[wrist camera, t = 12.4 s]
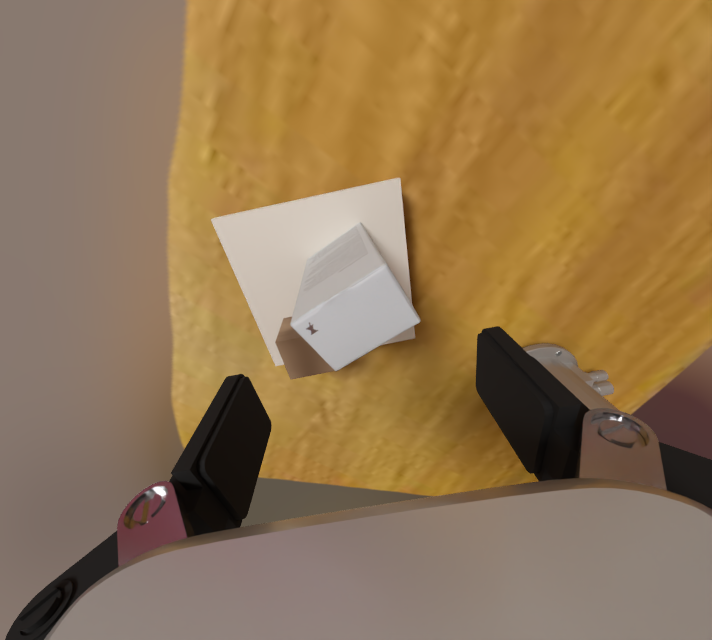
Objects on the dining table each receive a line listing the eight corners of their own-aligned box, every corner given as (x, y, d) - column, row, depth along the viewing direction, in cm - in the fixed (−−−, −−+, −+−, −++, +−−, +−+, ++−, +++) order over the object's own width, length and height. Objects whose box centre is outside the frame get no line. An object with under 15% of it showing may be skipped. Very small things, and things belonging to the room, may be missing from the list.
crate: (325, 309, 27) (324, 332, 23) (335, 344, 29) (335, 370, 25) (283, 318, 27) (275, 342, 23) (296, 352, 29) (290, 379, 25)
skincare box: (333, 293, 26) (333, 375, 16) (306, 258, 24) (285, 325, 14) (386, 259, 25) (424, 323, 14) (361, 219, 23) (385, 260, 12)
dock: (392, 177, 24) (400, 177, 22) (408, 324, 32) (415, 338, 29) (223, 214, 25) (210, 219, 22) (280, 350, 33) (275, 365, 30)
